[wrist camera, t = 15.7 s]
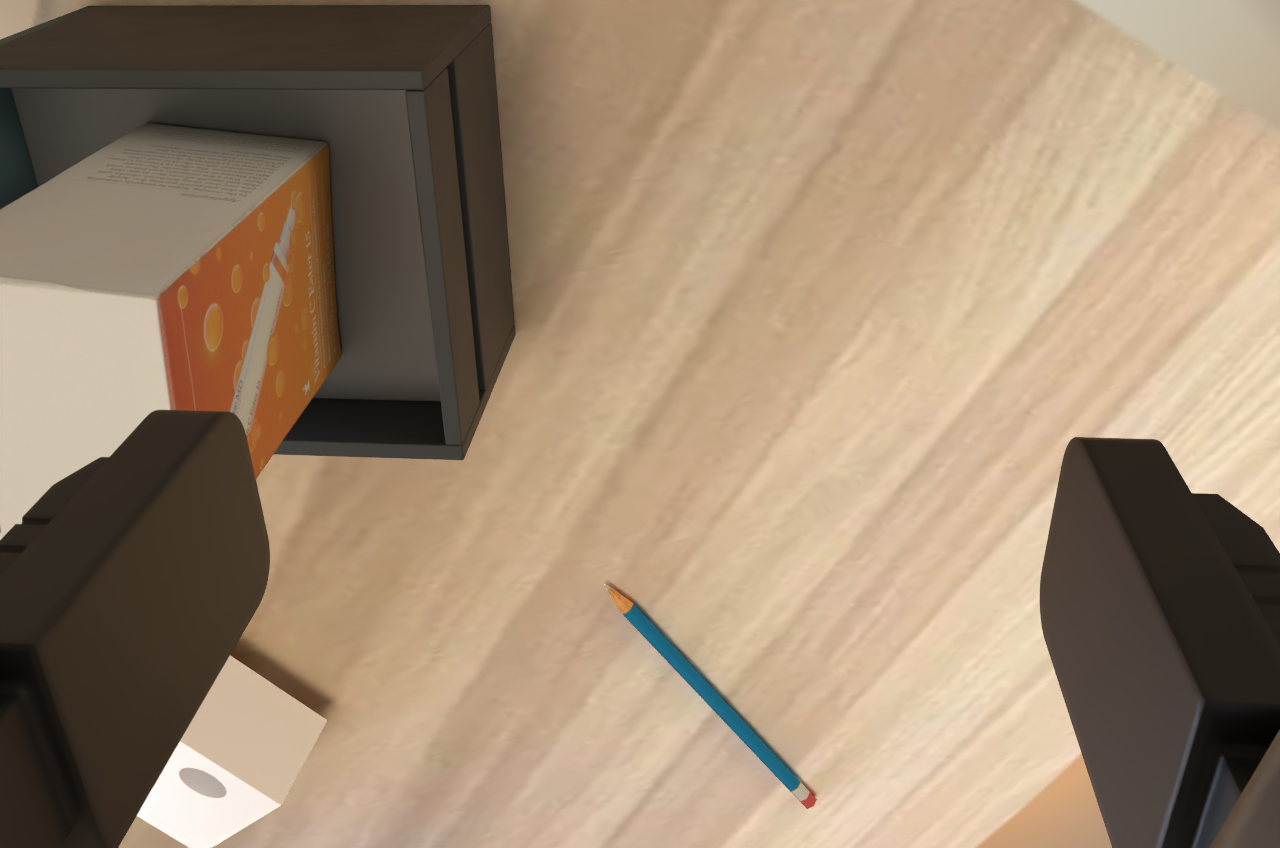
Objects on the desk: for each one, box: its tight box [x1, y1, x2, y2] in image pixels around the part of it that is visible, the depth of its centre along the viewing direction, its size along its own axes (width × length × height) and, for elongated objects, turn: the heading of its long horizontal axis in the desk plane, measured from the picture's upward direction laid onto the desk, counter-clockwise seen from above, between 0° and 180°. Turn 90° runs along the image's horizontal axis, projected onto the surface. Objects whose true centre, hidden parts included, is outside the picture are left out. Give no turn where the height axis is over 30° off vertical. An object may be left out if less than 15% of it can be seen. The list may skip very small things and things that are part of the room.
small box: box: [0, 123, 341, 540], centre depth 35 cm, size 8×6×13 cm
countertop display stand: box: [0, 5, 515, 460], centre depth 39 cm, size 15×13×16 cm
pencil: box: [605, 584, 817, 809], centre depth 58 cm, size 1×17×1 cm, turn 38°
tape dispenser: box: [137, 656, 328, 848], centre depth 56 cm, size 18×10×10 cm, turn 48°
